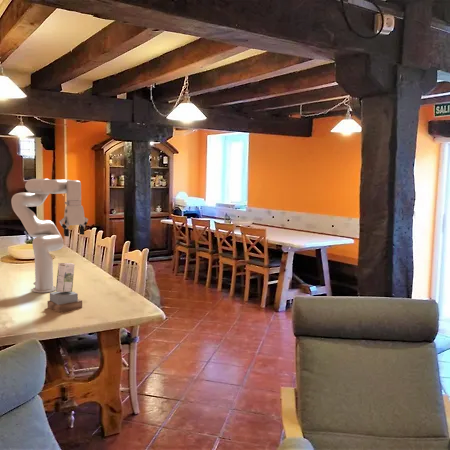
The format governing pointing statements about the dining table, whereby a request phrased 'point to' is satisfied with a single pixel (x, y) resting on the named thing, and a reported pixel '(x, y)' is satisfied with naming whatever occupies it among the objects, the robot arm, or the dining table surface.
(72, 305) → the walnut base block
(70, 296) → the slate top block
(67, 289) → the syrup box
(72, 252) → the dining table surface
